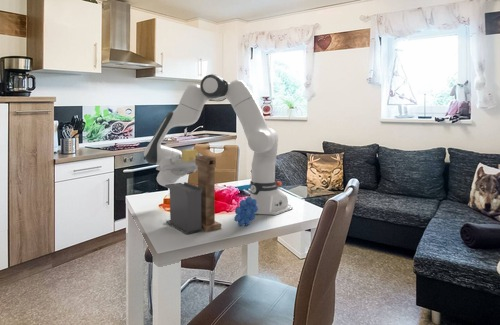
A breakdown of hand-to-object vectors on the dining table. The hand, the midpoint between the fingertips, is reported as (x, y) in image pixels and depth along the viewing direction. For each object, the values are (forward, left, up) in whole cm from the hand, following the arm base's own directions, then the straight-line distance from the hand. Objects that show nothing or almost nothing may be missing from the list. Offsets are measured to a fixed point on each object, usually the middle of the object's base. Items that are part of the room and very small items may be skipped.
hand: (189, 155), depth 155 cm
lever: (-49, -24, -28) cm, 61 cm away
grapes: (-14, +21, -28) cm, 38 cm away
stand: (0, +13, -28) cm, 31 cm away
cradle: (+8, +8, -28) cm, 30 cm away
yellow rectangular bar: (0, +6, -2) cm, 7 cm away
